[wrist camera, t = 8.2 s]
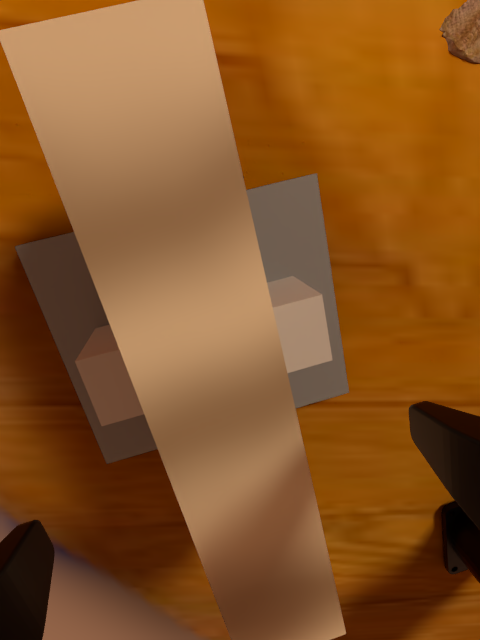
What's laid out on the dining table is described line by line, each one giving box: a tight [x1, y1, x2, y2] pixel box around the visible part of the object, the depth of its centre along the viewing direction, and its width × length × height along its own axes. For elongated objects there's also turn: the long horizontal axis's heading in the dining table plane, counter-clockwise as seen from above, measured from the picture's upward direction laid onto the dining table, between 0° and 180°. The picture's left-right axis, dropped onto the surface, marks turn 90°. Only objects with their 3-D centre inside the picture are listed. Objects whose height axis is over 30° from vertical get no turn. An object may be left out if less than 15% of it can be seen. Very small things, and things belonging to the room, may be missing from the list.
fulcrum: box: [15, 173, 349, 464], centre depth 18 cm, size 12×14×5 cm
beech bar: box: [0, 0, 346, 640], centre depth 13 cm, size 20×4×5 cm, turn 14°
